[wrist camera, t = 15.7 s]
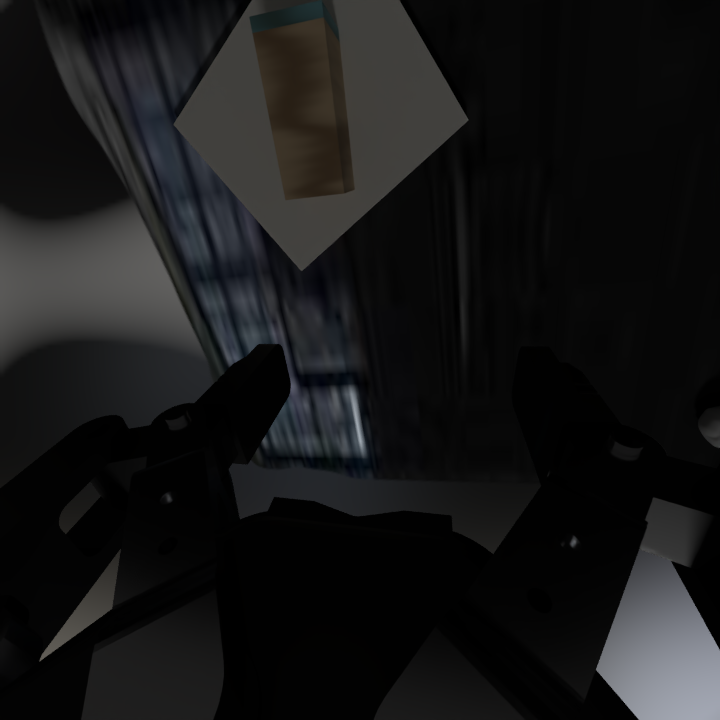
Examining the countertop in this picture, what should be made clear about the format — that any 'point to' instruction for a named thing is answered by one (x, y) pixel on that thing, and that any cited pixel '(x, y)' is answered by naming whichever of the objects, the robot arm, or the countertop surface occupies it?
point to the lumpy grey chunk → (711, 425)
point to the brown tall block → (305, 99)
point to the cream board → (364, 112)
